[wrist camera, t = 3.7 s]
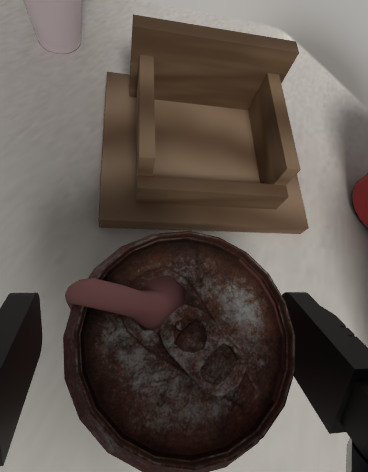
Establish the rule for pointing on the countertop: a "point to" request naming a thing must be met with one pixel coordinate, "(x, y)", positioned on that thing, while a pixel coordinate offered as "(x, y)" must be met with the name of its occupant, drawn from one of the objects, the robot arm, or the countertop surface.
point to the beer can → (361, 199)
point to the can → (178, 352)
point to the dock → (200, 133)
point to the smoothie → (56, 23)
